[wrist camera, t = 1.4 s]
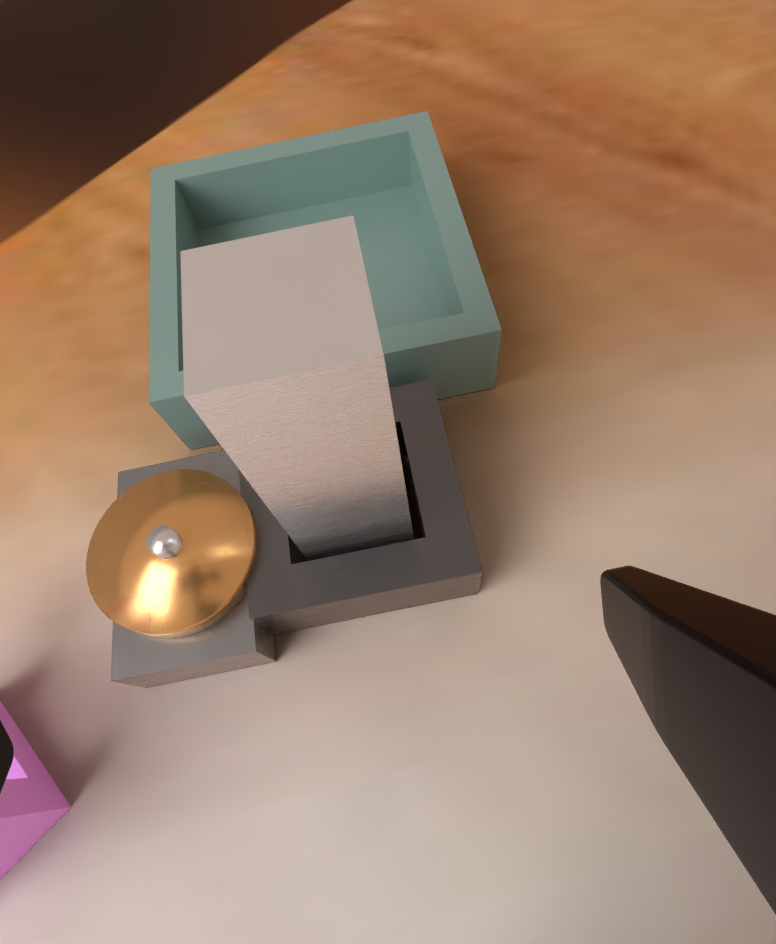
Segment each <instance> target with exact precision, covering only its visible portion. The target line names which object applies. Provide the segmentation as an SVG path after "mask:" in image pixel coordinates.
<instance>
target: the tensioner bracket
mask: <svg viewBox="0 0 776 944" xmlns="http://www.w3.org/2000/svg"><path fill="white" fill-rule="evenodd" d="M389 390H390V396H391V402H392V408H393V414H394V420H395V426H396V432H397V438H398V444H399V450H400V456H401V457H406V460H407V465H408V469H409V474H410V479H411V483H412V488H413V492H414V497H415V502H416V506H417V511H418V515H419V520H420V525H421V529H422V534H423V538H420V539H415V540H410V541H405V542H400V543H395V544H390V545H385V546H380V547H375V548H370V549H365V550H360V551H356V552H351V553H346V554H341V555H336V556H331V557H326V558H321V559H316V560H311V561H307V560H306V558H305V556H304V555H303V554H302V552H301V551H300V550H299V548H298V547H297V546H296V544H295V543H294V542H293V540H292V539H291V538H290V536H289V535H288V534H287V532H286V531H285V530H284V528H283V527H282V526H281V524H280V523H279V522H278V520H277V519H276V518H275V516H274V515H273V514H272V512H271V511H270V510H269V509H268V507H267V506H266V505H265V503H264V502H263V501H262V499H261V498H260V497H259V495H258V494H257V493H256V491H255V490H254V489H253V487H252V486H251V485H250V483H249V482H248V481H247V479H246V478H245V477H244V475H243V474H242V473H241V471H240V470H239V469H238V467H237V466H236V465H235V463H234V462H233V461H232V459H231V458H230V457H229V455H228V454H227V453H226V451H225V450H224V451H219V452H214V453H209V454H204V455H199V456H194V457H189V458H185V459H180V460H175V461H170V462H165V463H160V464H155V465H150V466H145V467H141V468H136V469H131V470H126V471H121V472H118V492H117V500H116V501H114V502H113V504H112V505H111V506H110V507H109V508H108V510H107V511H106V512H105V514H104V515H103V517H102V518H101V520H100V521H99V523H98V525H97V527H96V529H95V531H94V533H93V536H92V538H91V541H90V545H89V549H88V553H87V561H86V574H87V580H88V585H89V588H90V592H91V594H92V596H93V598H94V600H95V602H96V604H97V605H98V606H99V608H100V609H101V611H102V612H103V613H104V614H105V615H106V616H107V617H108V618H110V619H111V620H113V639H112V668H111V681H114V682H119V683H124V684H129V685H134V686H139V687H145V688H147V687H152V686H157V685H162V684H167V683H172V682H177V681H182V680H187V679H192V678H197V677H202V676H207V675H212V674H217V673H222V672H227V671H232V670H237V669H242V668H247V667H252V666H257V665H262V664H267V663H272V662H276V657H275V645H274V635H276V634H281V633H286V632H291V631H295V630H300V629H305V628H310V627H315V626H320V625H325V624H330V623H335V622H340V621H345V620H350V619H355V618H360V617H365V616H370V615H375V614H380V613H385V612H390V611H395V610H400V609H405V608H410V607H415V606H420V605H424V604H429V603H434V602H439V601H444V600H449V599H454V598H459V597H464V596H469V595H474V594H478V593H479V588H480V582H481V577H482V569H481V565H480V561H479V557H478V553H477V549H476V545H475V541H474V538H473V534H472V530H471V526H470V522H469V518H468V514H467V511H466V507H465V503H464V499H463V495H462V491H461V487H460V483H459V480H458V476H457V472H456V468H455V464H454V460H453V456H452V453H451V449H450V445H449V441H448V437H447V433H446V429H445V425H444V422H443V418H442V414H441V410H440V406H439V402H438V398H437V395H436V391H435V387H434V383H433V379H430V380H425V381H420V382H415V383H411V384H406V385H401V386H396V387H391V388H389Z"/></svg>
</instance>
